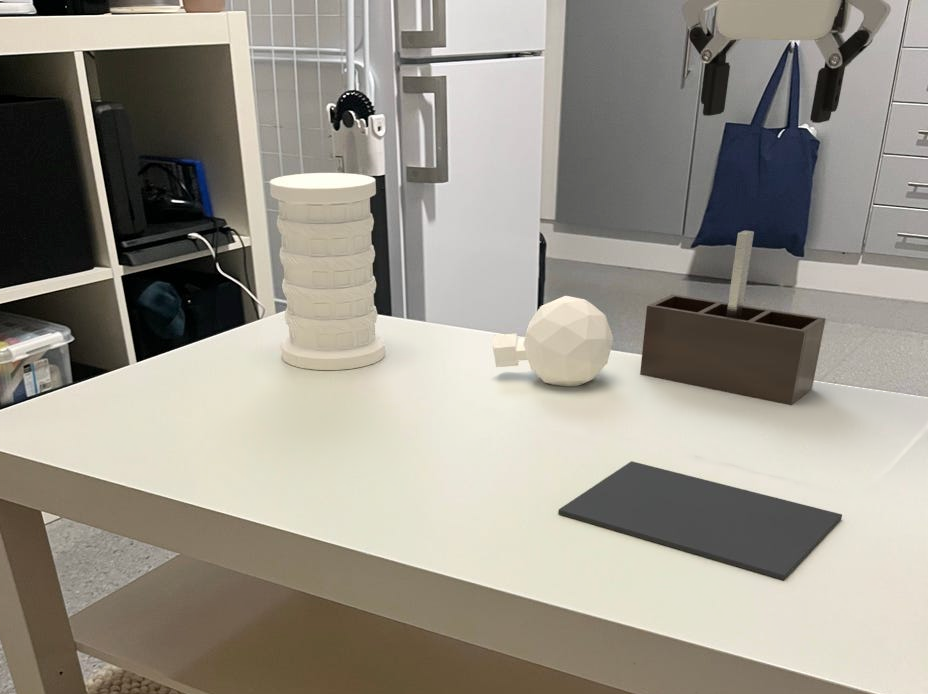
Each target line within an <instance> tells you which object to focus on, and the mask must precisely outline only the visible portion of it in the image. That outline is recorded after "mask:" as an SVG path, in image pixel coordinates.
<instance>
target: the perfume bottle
mask: <svg viewBox="0 0 928 694" xmlns="http://www.w3.org/2000/svg"><path fill="white" fill-rule="evenodd" d="M613 342H614V336H613V332H612V330H611V328H610V324H609V321H608V319H607V316H606V314H605V313H604V312H602V311H601V310H600V309H598V308H597V307H596V306H595V305H594V304H592V303H591V302H589V301H588V300H587V299H584V298H579V297H576V296H575V297H574V296H569V295H563V296H561V297H559V298H556V299H554V300H552V301H549V302H547V303H545V304H543V305H540V306H539V308H538V310H537V311H536V312H535V314H534V315H533V317H532V318H531V319H530V321H529V323H528V326H527V329H526V332H525V336H524V337H519V336H518V333H517V332H516V333H505V334H504V333H503V334H495V335H494V338H493V346H492V349H493V356H494V363H495V368H505V367H517V366H519V362H520V361H528V364H529V367H530V369H531V370H532V372H533V373H535V375H536V376H537V377H538V378H540V379H541V380H542V381H543V382H544V383H546V384H549V385H552V386H558V387H559V386H560V387H579V386H581V385H583V384H585V383H587V382H590V381H592V380H594V379H595V378H596V377H597V376H598V375H599V373H601V371H602V370H603V369H604V368H605V367H606V365H607V364H608V361H609V357H610V354H611V351H612V348H613Z"/></svg>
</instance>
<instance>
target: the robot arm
mask: <svg viewBox="0 0 928 694" xmlns="http://www.w3.org/2000/svg"><path fill="white" fill-rule="evenodd" d="M716 6H717V9H716V29H717V31H716V33H715V34H714V35H713V33H712V32H711V31H710V29H709V28H708V27H707V24H706V22H707V21H706V14H707V12H708V11H709V10H711V9H712V8H714V7H716ZM852 6H853V7H854V8H855V9H857V10H858V11H860V12H861V13H862V15H863V20H862V21H861V23H860V26H859V27H858V29H857V30H856V31H855V32H854V33H853V34H852V35H851V36H850V37H848V38H847V39H846V40H845V38H844V36H843V33H845V31H846V29H847V28H848V24H849V21H850V17H851V12H852V8H853V7H852ZM891 9H892V8H891V5H890V4H889V3H888V2H886V1H885V0H688V1H686V2H685V3H684V4H683V5H682V14H683V18H684V21H685V25H686V28H687V30H688V33H689V34H688V38H689V41H690V42H691V44H692V45H693V47H694V48H695V50H696V51H697V53H698V54H699V59H700V61H701V63H703V64H704V70H703V77H702V85H701V93H700V103H701V105H703V106H702V107H703V108H702V114H703V116H707V117H712V116H716V115H721V114H722V113H724V111H725V108H726V101H727V93H728V85H729V78H730V72H731V71H730V70H731V65H730V62H726V61H727V56H728V55H729V54H730V53H731V52H732V50H733V49H734V48H735V47H736V46H737V45H738V43H739V42H740V41H741V40H761V41H762V40H763V41H764V40H765V41H768V40H769V41H814V42H815V44H816V46H817V48H818V50H819V51H820V54H821V56H822V57H823V59H824V67H821V68H820V69H818V73H817V77H816V83H815V87H814V88H815V89H814V95H813V101H812V105H811V110H810V111H811V113H810V117H809V118H810V121H811V122H812V123H813V124H821V123H824V122H829V121H830V119H831V116H832V113H834V112H837V109H838V107H839V103H840V96H841V91H842V86H843V82H844V75H845V71H846V68H847V67H848V66H850V64H851V63H852V62H853V60H854V59H855V58H857V57H858V55H860V54H861V53H862V52H863V51H865V50H866V48H868V47H869V46H870V45H871V44H872V42H873V40H874V37H875V36H876V34H878V32H879V31H880V29H881V28H882V26H883V25H884V23H885V21H886V20H887V19H888V16H889V15H890V13H891Z"/></svg>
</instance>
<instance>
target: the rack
mask: <svg viewBox="0 0 928 694" xmlns="http://www.w3.org/2000/svg"><path fill="white" fill-rule="evenodd" d="M727 307H728V302H725V301H718V300H711V299H704V298H699V297H691V296H685V295H679V294H672V293H671V294H670V295H668V296H665V297H663V298H661V299H659V300H656V301H655V302H652V303H649V304H647V305H646V310H645V312H646V313H645V321H644V332H643V342H642V350H641V351H642V352H641V362H640V372H639V375H641V376H645V377H649V378H655V379H659V380H664V381H670V382H674V383H679V384H684V385H689V386H694V387H697V388H703V389H708V390H713V391H717V392H718V391H719V392H723V393H729V394H733V395H738V396H743V397H746V398H747V397H748V398H753V399H758V400H762V401H768V402H772V403H776V404H783V405H787V406H792V405H794V404H795V403H797V402H798V401H799V400H801V399H802V398H804V396H806V395H807V394H809V392H811V391H812V390H813V387H814V382H815V375H816V372H817V366H818V360H819V355H820V351H821V345H822V339H823V336H824V335H823V334H824V330H825V325H826V318H825V317H819V316H813V315H807V314H801V313H795V312H789V311H788V312H787V311H781V310H775V309H769V308H762V307H756V306H751V305H744V304H743V309H742V316H741V320H740V319H734V318H728V317H726V314H727Z"/></svg>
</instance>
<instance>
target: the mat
mask: <svg viewBox="0 0 928 694" xmlns="http://www.w3.org/2000/svg"><path fill="white" fill-rule="evenodd" d="M557 512H558V515H560V516H564V517H568V518H571V519H574V520H576V521H577V520H578V521H581V522H584V523H588V524H591V525H595V526H597V527H602V528H604V529H608V530H612V531H615V532H618V533H622V534H625V535H629V536H632V537H636V538H639V539H643V540H646V541H649V542H653V543H655V544H659V545H663V546H667V547H669V548H673V549H676V550H679V551H683V552H686V553H690V554H693V555H697V556H700V557H704V558H707V559H709V560H710V559H711V560H714V561H717V562H720V563H724V564H727V565H730V566H734V567H738V568H740V569H745V570H748V571H751V572H754V573H757V574H761V575H766V576H768V577H772V578H775V579H778V580H781V581H785V580H786V578H788V576H789V575H790V574H791V573H793V571H794V570H795V569H796V568H797V567H798V566H799V565H800V564H801V563H802V562H803V560H805V558H806V557H807V556H808V555H809V554H810V553H811V552H812V551H813V550H814V549H815V548H816V547H817V546H818V545H819V543H820V542H821V541H823V540H824V538H825V537H826V536H827V535H828V534H829V533H830V532H831V530H833V528H834V527H835V526H837V524H838V523H839V522H840V521H842V519H843V518H842V517H843V514H842V513H838V512H835V511H831V510H830V511H829V510H827V509H822V508H818V507H815V506H811V505H808V504H807V505H806V504H802V503H798V502H796V501H795V502H794V501H790V500H787V499H783V498H779V497H776V496H771V495H767V494H763V493H760V492H755V491H751V490H749V489H748V490H747V489H742V488H739V487H735V486H731V485H728V484H723V483H720V482H715V481H712V480H708V479H704V478H701V477H695V476H693V475H688V474H684V473H680V472H676V471H673V470H669V469H664V468H661V467H656V466H653V465H648V464H644V463H640V462H636V461H633V460H632V461H631V460H630V462H628V463H627V464H625V465H623V466H622V467H620V468H619V469H617V470H616V471H614V472H613V473H611V474H610V475H608V476H606V477H605V478H604V479H602V480H601V481H599V482H598V483H596V484H595V485H594V486H592V487H590V488H589V489H587V490H586V491H584V492H583V493H581V494H580V495H578V496H577V497H575V498H574V499H572V500H570V501H568V503H565V505H563V506H561V507H560V508H559V509H558V511H557Z"/></svg>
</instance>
